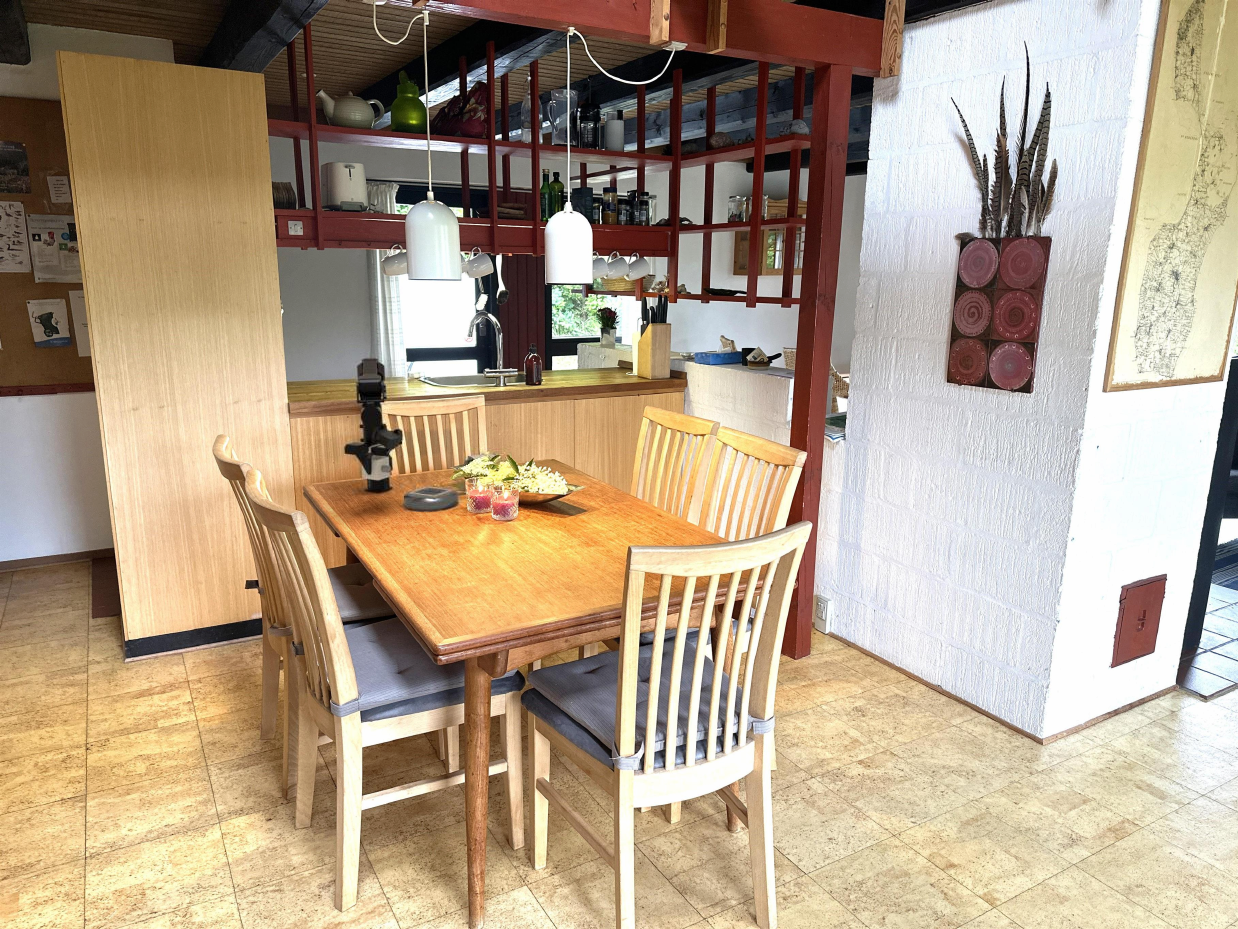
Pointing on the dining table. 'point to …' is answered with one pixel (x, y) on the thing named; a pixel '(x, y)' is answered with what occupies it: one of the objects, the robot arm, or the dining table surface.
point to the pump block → (378, 468)
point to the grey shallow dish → (431, 499)
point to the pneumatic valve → (476, 457)
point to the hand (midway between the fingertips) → (375, 472)
